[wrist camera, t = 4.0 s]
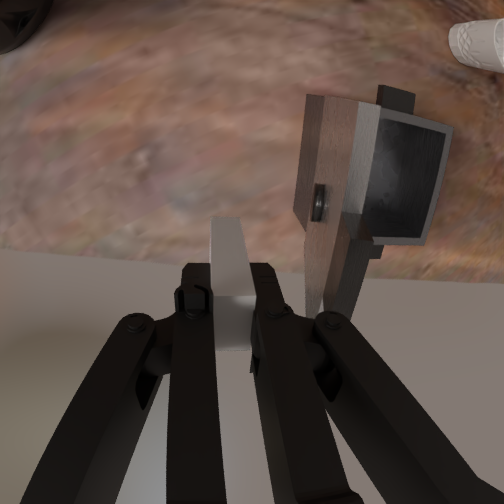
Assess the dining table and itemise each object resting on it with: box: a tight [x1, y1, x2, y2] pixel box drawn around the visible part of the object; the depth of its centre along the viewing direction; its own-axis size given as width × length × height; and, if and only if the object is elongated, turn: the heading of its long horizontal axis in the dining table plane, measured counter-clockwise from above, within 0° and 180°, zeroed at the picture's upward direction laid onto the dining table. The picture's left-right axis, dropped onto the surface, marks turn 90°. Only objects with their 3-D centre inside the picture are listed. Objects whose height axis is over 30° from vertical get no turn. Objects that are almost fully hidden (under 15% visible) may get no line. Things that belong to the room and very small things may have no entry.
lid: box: [304, 95, 381, 320], centre depth 21 cm, size 15×19×2 cm
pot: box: [293, 85, 454, 259], centre depth 34 cm, size 20×15×9 cm
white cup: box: [448, 18, 504, 74], centre depth 26 cm, size 8×8×10 cm
